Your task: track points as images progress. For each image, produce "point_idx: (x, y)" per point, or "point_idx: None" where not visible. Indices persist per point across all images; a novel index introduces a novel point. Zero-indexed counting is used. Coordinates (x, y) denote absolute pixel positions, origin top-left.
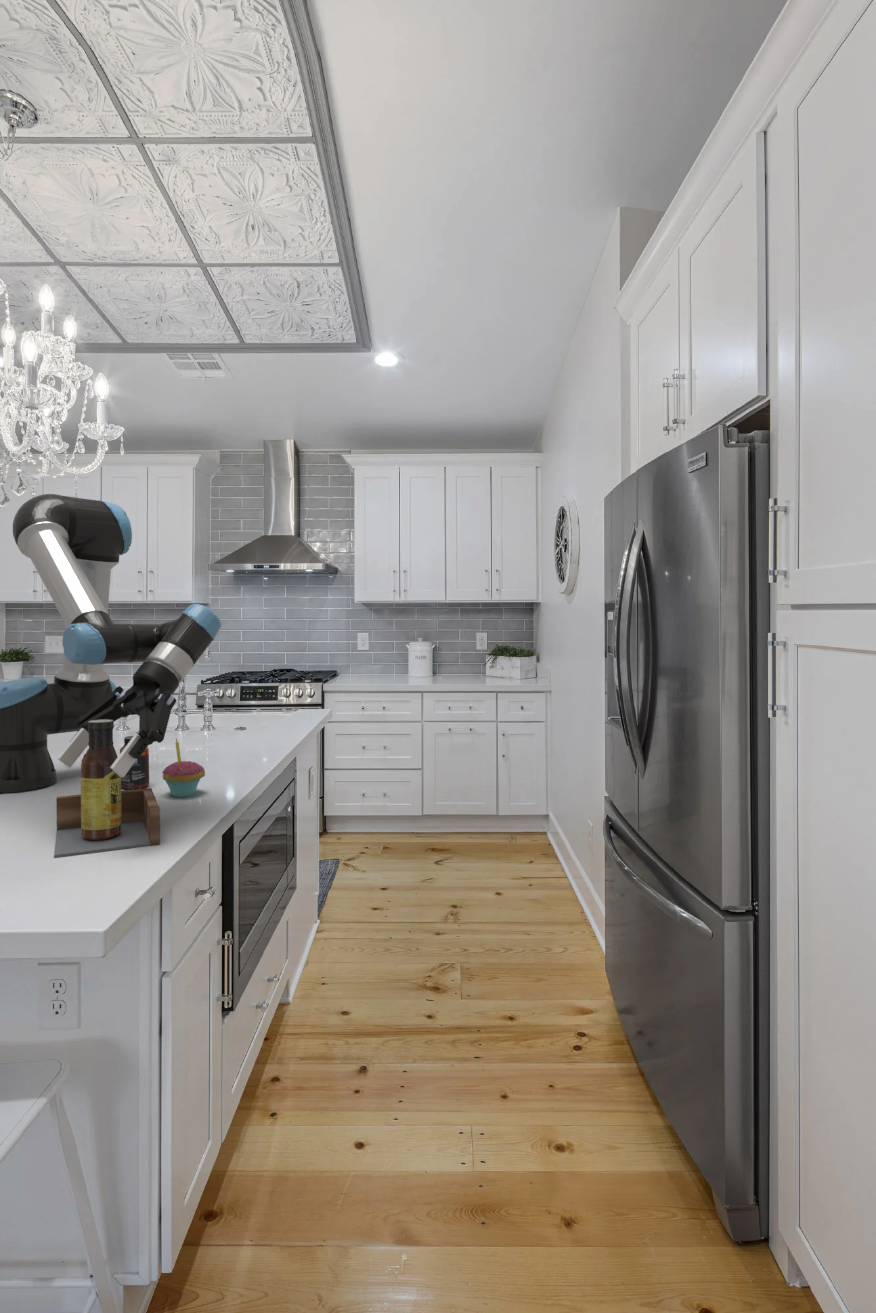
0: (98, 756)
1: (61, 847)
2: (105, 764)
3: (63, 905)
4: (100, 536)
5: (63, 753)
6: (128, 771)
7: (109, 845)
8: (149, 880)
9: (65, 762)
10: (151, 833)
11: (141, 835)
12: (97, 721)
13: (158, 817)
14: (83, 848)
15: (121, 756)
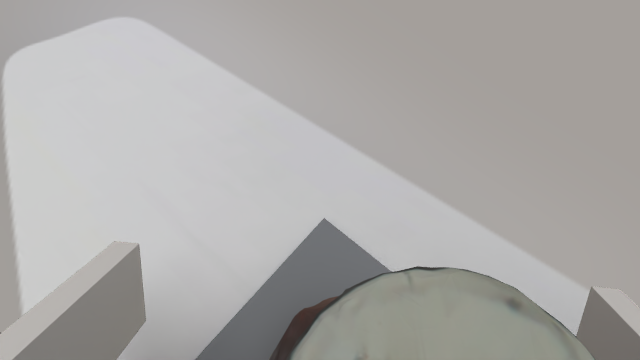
0: (306, 319)
1: (358, 264)
2: (282, 356)
3: (113, 78)
4: None
5: (620, 312)
6: None
7: (252, 331)
8: (21, 208)
9: (583, 331)
10: None
11: None
12: (409, 352)
13: None
14: (299, 283)
15: (64, 283)
